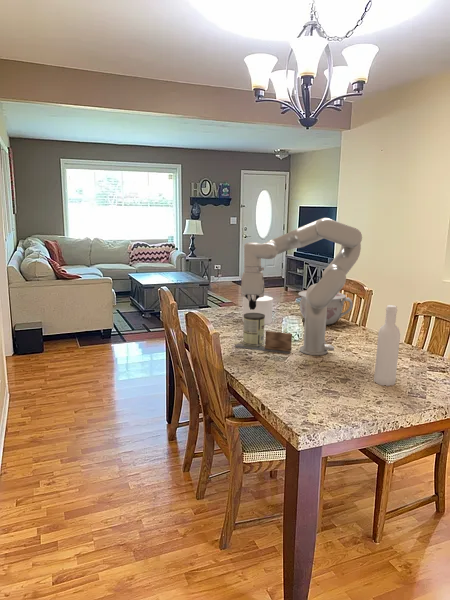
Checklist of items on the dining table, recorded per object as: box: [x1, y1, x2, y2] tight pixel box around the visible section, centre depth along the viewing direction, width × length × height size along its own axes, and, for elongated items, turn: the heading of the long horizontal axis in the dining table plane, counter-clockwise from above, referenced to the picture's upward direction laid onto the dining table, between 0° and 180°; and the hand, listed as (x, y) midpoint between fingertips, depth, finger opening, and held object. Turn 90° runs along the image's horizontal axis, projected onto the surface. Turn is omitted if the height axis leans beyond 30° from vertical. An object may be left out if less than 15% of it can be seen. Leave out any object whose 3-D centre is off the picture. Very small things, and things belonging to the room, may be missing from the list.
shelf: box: [264, 330, 293, 353], centre depth 206 cm, size 12×3×8 cm, turn 71°
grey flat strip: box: [235, 343, 291, 355], centre depth 209 cm, size 26×4×1 cm, turn 71°
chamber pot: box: [297, 289, 354, 326], centre depth 260 cm, size 28×28×21 cm
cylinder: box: [241, 295, 274, 326], centre depth 259 cm, size 17×17×28 cm
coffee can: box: [242, 313, 265, 346], centre depth 218 cm, size 10×10×14 cm
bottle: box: [373, 304, 401, 387], centre depth 169 cm, size 8×8×30 cm
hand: (252, 309), depth 208 cm, fingers closed
